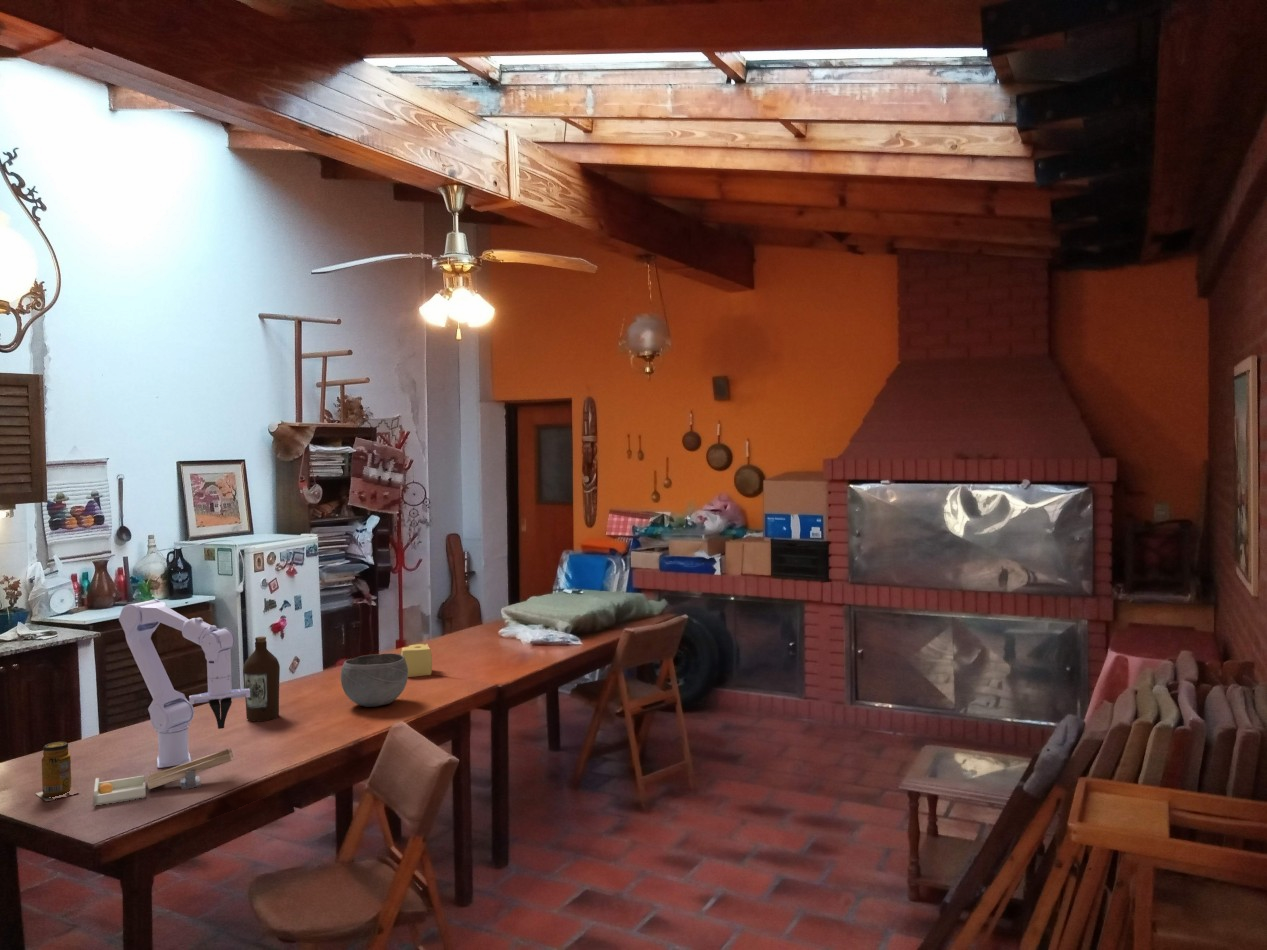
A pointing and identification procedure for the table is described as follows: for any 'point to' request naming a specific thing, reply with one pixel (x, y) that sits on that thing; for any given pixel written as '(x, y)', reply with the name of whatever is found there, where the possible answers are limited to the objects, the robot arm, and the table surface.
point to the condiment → (55, 770)
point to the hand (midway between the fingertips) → (220, 727)
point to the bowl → (374, 678)
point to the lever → (189, 768)
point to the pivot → (190, 780)
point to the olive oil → (262, 683)
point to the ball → (105, 788)
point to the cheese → (418, 659)
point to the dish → (120, 790)
